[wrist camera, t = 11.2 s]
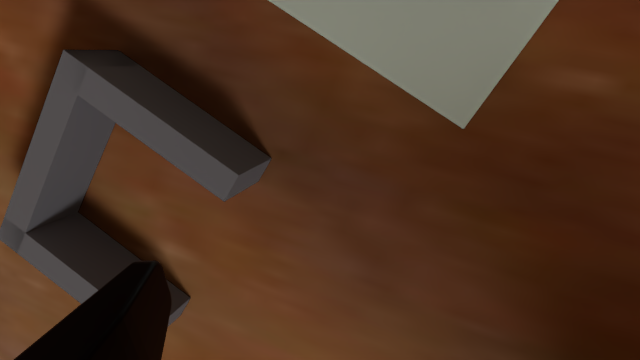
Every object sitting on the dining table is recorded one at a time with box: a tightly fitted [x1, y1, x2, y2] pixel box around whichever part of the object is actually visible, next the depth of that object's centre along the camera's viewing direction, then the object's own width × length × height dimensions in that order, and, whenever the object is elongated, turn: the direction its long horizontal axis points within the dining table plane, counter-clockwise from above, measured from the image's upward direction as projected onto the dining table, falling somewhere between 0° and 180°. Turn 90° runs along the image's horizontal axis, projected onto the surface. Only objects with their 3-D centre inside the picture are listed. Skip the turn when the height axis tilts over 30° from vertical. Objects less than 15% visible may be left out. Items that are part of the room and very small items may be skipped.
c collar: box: [0, 50, 272, 326], centre depth 21 cm, size 8×9×3 cm
